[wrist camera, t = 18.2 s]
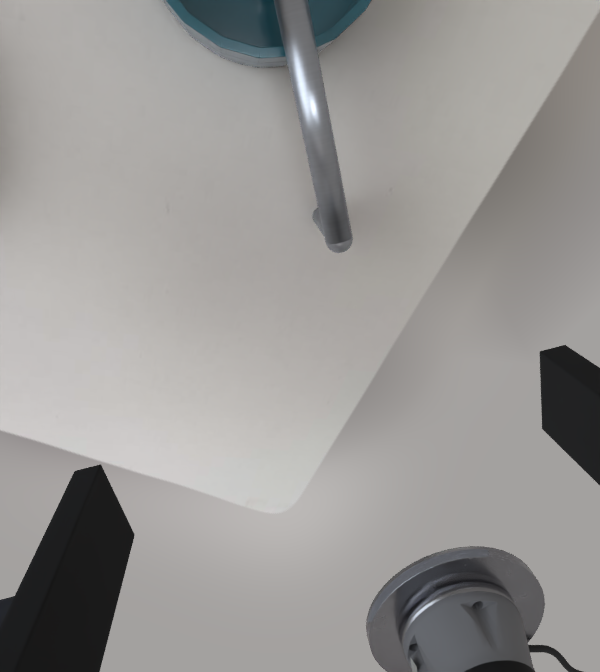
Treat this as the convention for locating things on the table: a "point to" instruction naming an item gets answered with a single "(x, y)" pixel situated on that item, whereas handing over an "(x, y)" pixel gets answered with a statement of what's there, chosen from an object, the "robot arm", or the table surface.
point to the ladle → (315, 122)
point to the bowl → (258, 26)
